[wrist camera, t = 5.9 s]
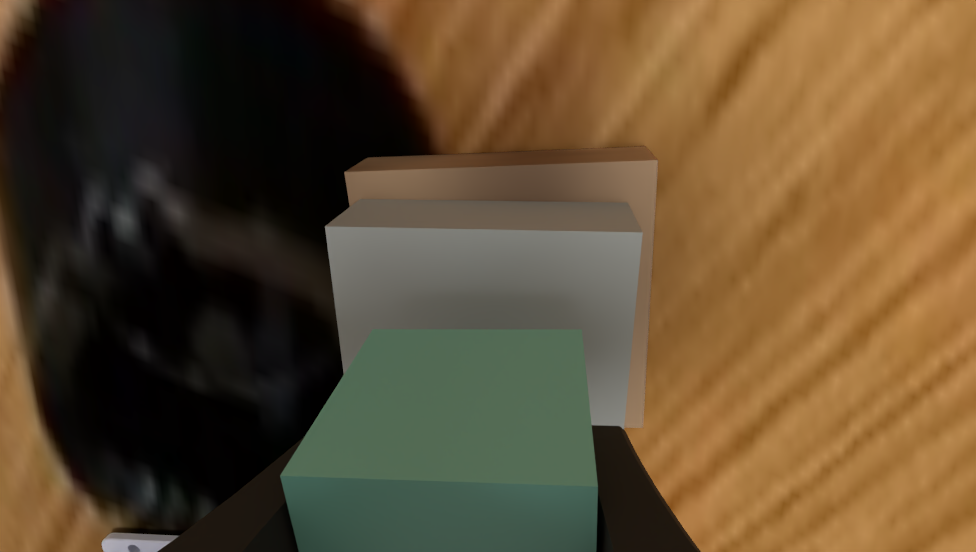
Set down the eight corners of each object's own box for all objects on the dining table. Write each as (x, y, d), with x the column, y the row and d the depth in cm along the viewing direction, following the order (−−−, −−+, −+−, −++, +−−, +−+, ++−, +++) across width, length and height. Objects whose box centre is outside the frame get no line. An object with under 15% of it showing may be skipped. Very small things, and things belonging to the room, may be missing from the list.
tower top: (382, 417, 17) (356, 473, 15) (359, 199, 15) (325, 226, 13) (608, 429, 17) (617, 490, 14) (627, 202, 14) (642, 232, 12)
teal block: (397, 490, 12) (330, 679, 9) (372, 329, 11) (279, 475, 7) (580, 496, 12) (592, 700, 8) (581, 329, 10) (598, 487, 7)
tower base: (403, 379, 20) (383, 423, 18) (372, 154, 17) (344, 171, 15) (631, 381, 19) (643, 427, 17) (642, 143, 16) (657, 160, 14)
